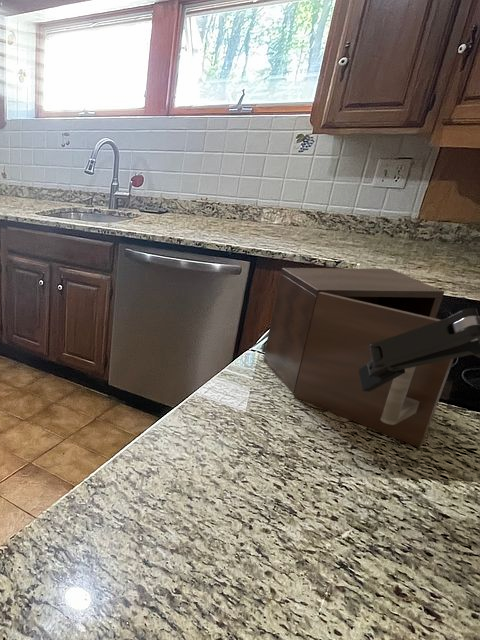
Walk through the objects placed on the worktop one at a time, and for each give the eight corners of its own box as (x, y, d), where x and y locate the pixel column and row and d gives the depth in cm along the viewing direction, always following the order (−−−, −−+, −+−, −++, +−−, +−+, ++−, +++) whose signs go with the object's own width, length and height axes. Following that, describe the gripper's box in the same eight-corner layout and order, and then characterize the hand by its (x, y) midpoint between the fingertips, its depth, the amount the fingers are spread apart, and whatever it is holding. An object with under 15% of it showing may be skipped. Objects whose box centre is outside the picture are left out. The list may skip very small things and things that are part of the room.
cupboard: (408, 398, 85) (444, 291, 78) (293, 394, 87) (317, 290, 80) (362, 363, 98) (390, 268, 91) (262, 360, 100) (281, 267, 93)
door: (395, 462, 69) (439, 337, 62) (269, 407, 83) (293, 299, 76) (422, 445, 72) (466, 325, 65) (296, 395, 87) (321, 291, 79)
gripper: (449, 335, 41) (317, 409, 60) (817, 341, 38) (555, 417, 58) (426, 252, 43) (307, 349, 63) (769, 253, 41) (534, 354, 61)
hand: (426, 382), depth 61 cm, fingers open, 13 cm apart
